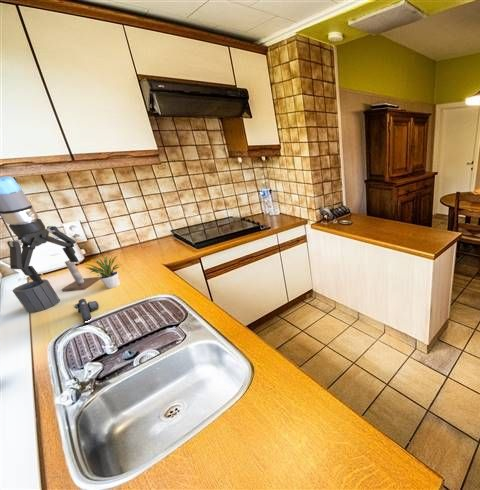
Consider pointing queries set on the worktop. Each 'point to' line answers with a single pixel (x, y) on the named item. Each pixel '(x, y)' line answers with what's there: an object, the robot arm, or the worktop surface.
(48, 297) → the grey ribbed cylinder
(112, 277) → the house plant
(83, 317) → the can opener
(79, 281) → the tape stand
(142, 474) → the worktop surface
